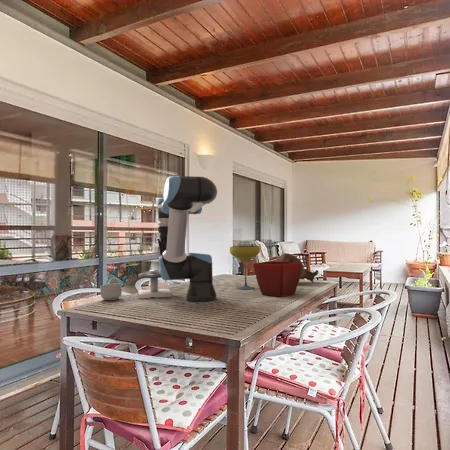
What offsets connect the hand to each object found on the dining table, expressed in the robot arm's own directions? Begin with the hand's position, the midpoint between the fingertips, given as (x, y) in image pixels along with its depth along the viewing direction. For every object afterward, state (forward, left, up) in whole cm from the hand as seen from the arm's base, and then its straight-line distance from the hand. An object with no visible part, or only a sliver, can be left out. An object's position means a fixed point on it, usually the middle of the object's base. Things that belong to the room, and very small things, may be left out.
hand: (166, 268), depth 213 cm
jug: (+13, -83, -15) cm, 85 cm away
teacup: (-6, +29, -15) cm, 33 cm away
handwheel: (-1, +7, -4) cm, 8 cm away
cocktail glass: (+4, -47, -15) cm, 50 cm away
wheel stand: (-1, +7, -15) cm, 16 cm away
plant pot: (-26, -56, -15) cm, 64 cm away
